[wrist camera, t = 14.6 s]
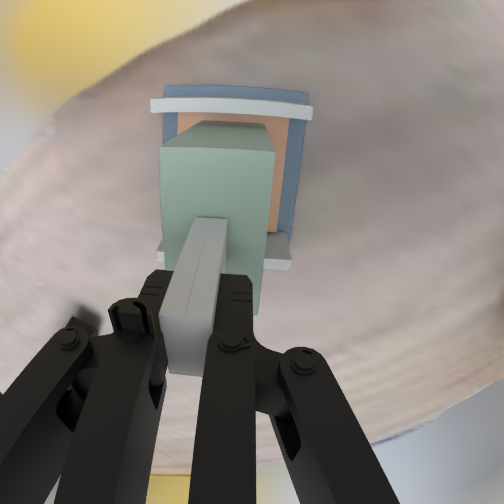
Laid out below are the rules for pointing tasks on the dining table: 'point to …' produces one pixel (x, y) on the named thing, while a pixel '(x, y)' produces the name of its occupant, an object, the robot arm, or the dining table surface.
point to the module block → (219, 191)
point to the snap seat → (278, 136)
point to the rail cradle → (256, 104)
